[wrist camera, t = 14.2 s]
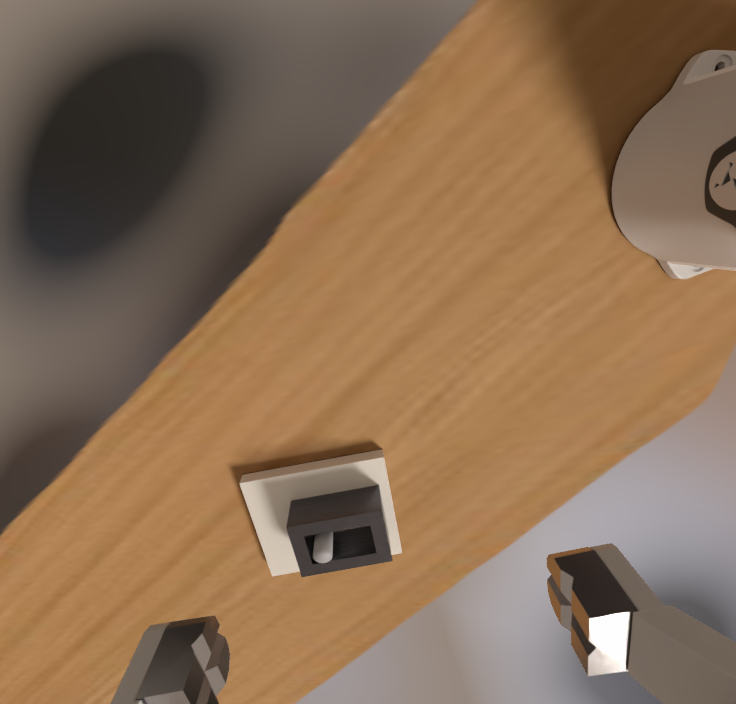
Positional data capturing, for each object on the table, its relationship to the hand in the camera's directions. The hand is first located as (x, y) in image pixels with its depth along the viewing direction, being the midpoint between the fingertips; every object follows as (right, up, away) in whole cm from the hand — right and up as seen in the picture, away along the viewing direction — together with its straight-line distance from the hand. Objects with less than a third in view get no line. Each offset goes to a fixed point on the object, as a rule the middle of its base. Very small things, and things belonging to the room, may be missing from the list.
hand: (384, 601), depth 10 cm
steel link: (-3, -13, +36) cm, 39 cm away
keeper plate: (-5, -13, +38) cm, 40 cm away
